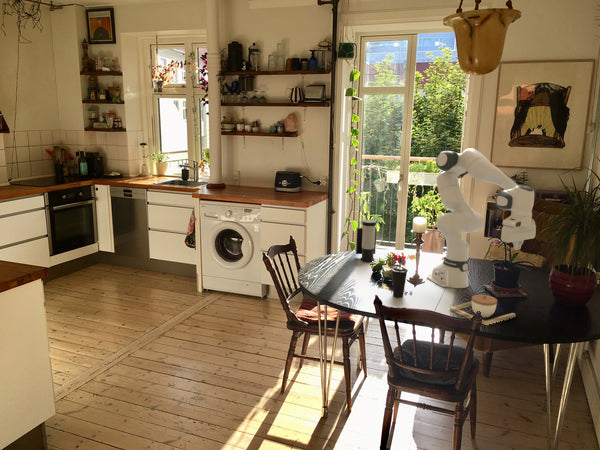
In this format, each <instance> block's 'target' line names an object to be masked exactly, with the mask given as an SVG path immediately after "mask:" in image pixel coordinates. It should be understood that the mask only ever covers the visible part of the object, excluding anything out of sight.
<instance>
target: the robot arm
mask: <svg viewBox="0 0 600 450" xmlns="http://www.w3.org/2000/svg"><path fill="white" fill-rule="evenodd" d="M435 164H436V167H437V168H438V169H439V170H441V172H440V173H439V174H438V175H436V184H437V185H436V187H437V191H438V193H439V197H440V200H441V203H442V206H443V207H444V208H445V209H447V210H448V211H449V212H446V213H442V214H440V215H438V217H437V219H436V223H435V224H436V228H437V229H438V230H437V231H439V232H440V233H441V234H442V235H443V236H444V238H445V241H446V252H445V253H446V254H445V255H446V256H445V257H442V258H441V261H442V260H443V261H442V263H440V264H438V265H436V266H435V267H434V268H433V270H432V272H431V274H429V275H427V276H426V279H427V280H429V281H431V282H433V283H435V284H436V285H438V286H440V287H442V288H451V289H452V288H453V289H465V288H468V287H469V286H470V284H469V278H468V276H469V275H468V268H469V261H470V260H469V256H470V255H469V254H470V253H469V251H470V245H469V244H468V242H467V241H466V240H464V239H463V238H462V234H469V233H470V234H471V233H476V232H478V231H481V230H482V229H483V228H484V225H485V219H484V217H483V215H482V214H481V213H480V212H478V211H476V210H475V209H473V208H472V207H471V206H470V204H468V202H467V201H466V199H465V197H464V195H463V192H462V190H461V189H462V188H461V187H460V184H459V181H458V179H462V178H464V177H465V176H466V175H470V176H471V177H472V178H473V179H475V180H476V181H478V182H482V183H488V184H494V185H497V186H498V187H499V186H500V188H502V189H503V190H500V191H499V192H498V193H497V194H496V195H495V199H494V200H495V202H494V203H495V205H496V207H497V208H498V209H500V210H501V211H510V213H511V214H510V216H508V217H506V218H505V219H503V220H502V225H503V226H502V228H501V235H500V240H501V241H502V242H504V243H507V244H509V243H512V245H513V247H512V249H513V250H515V251H517V250H521V248H522V245H523V244H524V241H526V240H531V239H534V238H536V234H537V233H536V231H537V230H536V229H537V225H536V220H535V219H534V218H532V217H533V212H532V211H533V207H534V203H535V190H534V188H533V187H531V186H529V185H526V184H519V183H518V182H516V181H515V179H513V178H512V177H511V176H509V174H507V173H506V172H505V171H503V170H502V169H500V168H498V167H497V166H496V165H494V164H493V163H492V162H491V161H490V160H489V159H488V158H487V157H486V156H485V155H483V154H482V153H481V152H480V151H479V150H477V149H476V148H470V147H469V148H466V149H465V150H464V151H462V152H461V153H459V152H456V151H451V150H444V151H440V153H438V155H437V156H436V158H435Z"/></svg>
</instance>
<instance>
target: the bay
mask: <svg viewBox="0 0 600 450" xmlns="http://www.w3.org/2000/svg"><path fill="white" fill-rule="evenodd" d="M469 307H472V300H471V301H467V302H463V303H460V304H459V303H458V304H456V305H452V306H449V311H451V312H453V313H455V314H458V315H460V316H462V317H465V318H467V319H468V320H471V319H470V318H472V317H473V316H474V315H473V314H471V313H468V312H466V311H464V310H462V309H464V308H469ZM516 315H517V314H516V313H514V312H511V313H507V314H504V315H500V316H497V317H494V318H491V319H487V320H485V319H482V324H484V325H487V326H489V324H491V325H494V324H496V322H497V323H501V322H502V321H503V320H504V321H507V320H509V318H510V319H513V317H514V318H516ZM500 321H501V322H500ZM504 321H503V322H504ZM493 323H494V324H493ZM482 324H481V325H482ZM484 325H483V326H484Z"/></svg>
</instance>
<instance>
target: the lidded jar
mask: <svg viewBox="0 0 600 450" xmlns="http://www.w3.org/2000/svg"><path fill="white" fill-rule="evenodd" d="M471 296H472V297H471V301H472V306H471V309H472V311H473V312H474V313H475V314H476V312H477V311H480V312H481V315H482V317H481V318H484V319H485V318H486V317H487V318H489V317H491V316H492V315H493V314H494V313H495V311H496V309H497V304H498V299H497V298H496V297H493V296H491V295H486V294H473V295H471Z"/></svg>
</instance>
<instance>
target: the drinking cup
mask: <svg viewBox="0 0 600 450" xmlns="http://www.w3.org/2000/svg"><path fill="white" fill-rule="evenodd" d="M401 263H402V256H400V257H399V265H398V266H394V267H392V268H391V273H392V296H393V297H394V298H399V299H401V298H403V297H404V293H405V286H406V281H407V273H408V269H407V268H405V267H403V266H401V265H402V264H401Z"/></svg>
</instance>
